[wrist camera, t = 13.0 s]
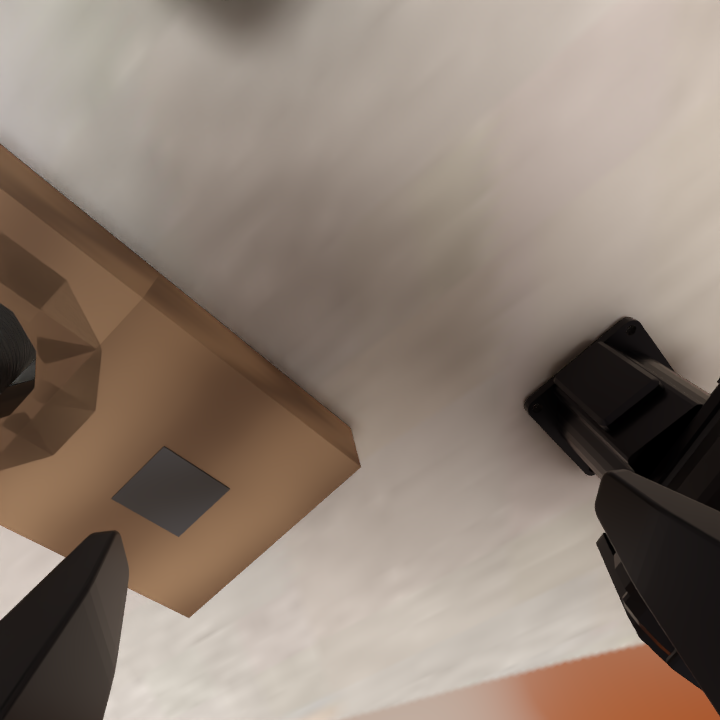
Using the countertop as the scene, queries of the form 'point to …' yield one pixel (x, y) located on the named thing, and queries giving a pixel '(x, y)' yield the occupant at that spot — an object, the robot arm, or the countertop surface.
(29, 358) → the grey and gold cylinder
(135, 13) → the countertop surface
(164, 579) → the socket plate
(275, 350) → the countertop surface
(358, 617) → the countertop surface
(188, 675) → the countertop surface
